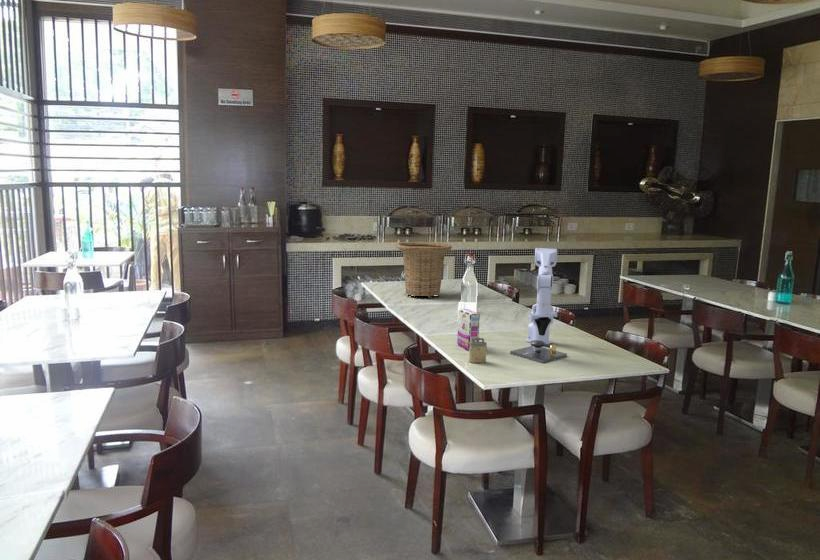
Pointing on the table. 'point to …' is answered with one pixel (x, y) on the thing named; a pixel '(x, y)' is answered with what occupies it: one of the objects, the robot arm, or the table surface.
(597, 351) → the table surface
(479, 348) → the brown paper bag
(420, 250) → the wicker basket
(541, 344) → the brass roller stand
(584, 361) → the table surface
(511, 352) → the lever base
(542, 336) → the robot arm
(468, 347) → the candy bar box
